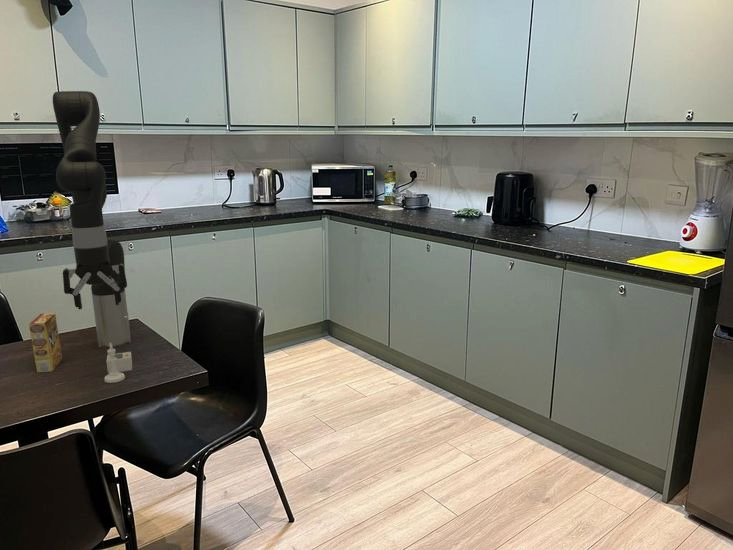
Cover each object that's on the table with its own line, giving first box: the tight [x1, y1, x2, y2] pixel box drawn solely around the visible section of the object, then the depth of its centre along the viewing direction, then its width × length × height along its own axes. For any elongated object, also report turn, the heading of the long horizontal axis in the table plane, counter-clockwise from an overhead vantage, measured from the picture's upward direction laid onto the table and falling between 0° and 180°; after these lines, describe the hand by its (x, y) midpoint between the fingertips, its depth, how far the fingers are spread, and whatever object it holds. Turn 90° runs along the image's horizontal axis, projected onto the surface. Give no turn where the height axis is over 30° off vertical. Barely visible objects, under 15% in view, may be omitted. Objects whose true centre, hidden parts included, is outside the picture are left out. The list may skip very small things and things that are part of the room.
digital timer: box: [106, 351, 133, 375], centre depth 149 cm, size 6×5×4 cm
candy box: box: [28, 312, 63, 373], centre depth 150 cm, size 9×4×15 cm, turn 13°
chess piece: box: [103, 343, 126, 383], centre depth 142 cm, size 5×5×10 cm
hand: (98, 306), depth 139 cm, fingers open, 8 cm apart
